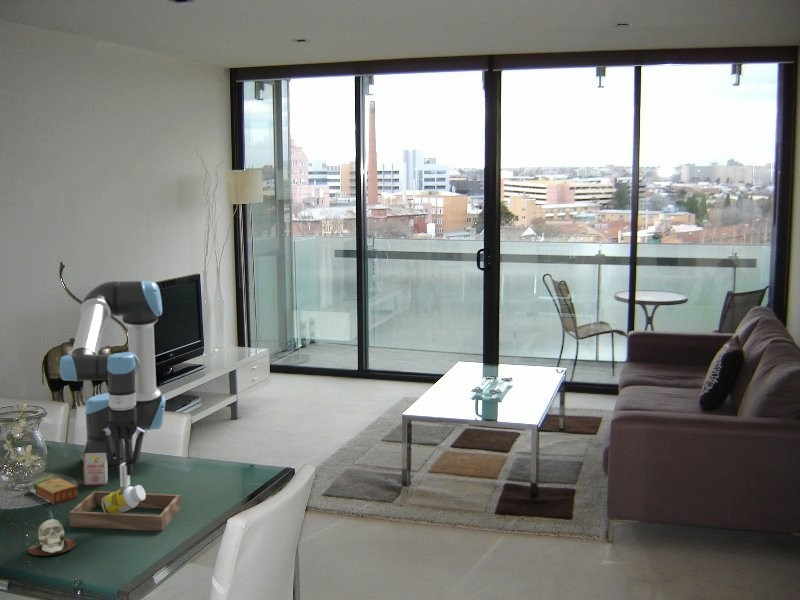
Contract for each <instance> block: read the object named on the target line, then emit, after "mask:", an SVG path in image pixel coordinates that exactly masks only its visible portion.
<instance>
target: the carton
mask: <svg viewBox="0 0 800 600" xmlns="http://www.w3.org/2000/svg"><path fill="white" fill-rule="evenodd" d="M38 478H39V480H38V481H37V482H36V483H34V489H35V490H36V494H37V495H39V496H41V497H43V498H45V499H47V500H49V501H50V502H51V503H50V502H49V503H50V504H51V505H57V504H60V503H63V502H62V501H64V502H66V501H70V499H71V500H74V499H77V498H78V496H79V493H78V491H79V490H78V485H77V484H75V483H72V482H70V481H68V480H66V479H64V478H61V477H60V476H57V475H55V474H53V473H51V474H48V475H44V476H40V477H38ZM59 502H60V503H59ZM56 503H57V504H56Z"/></svg>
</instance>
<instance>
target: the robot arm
mask: <svg viewBox="0 0 800 600" xmlns="http://www.w3.org/2000/svg"><path fill="white" fill-rule="evenodd" d="M79 313H80V316H81V318H80V321H79V324H78V328H77V332H76V334H75V339H74V343H73V346H72V349H71V353H70V354H68V355H63V356H61V357H60V359H59V360H60V361H59V375H60V378H61V380H63V381H68V382H69V381H70V382H72V381H73V382H81V381H82V382H83V381H107V385H108V386H107V387H108V392H104V393H99V394H96V395H94V396H91V397H89V398H88V399H87V400H86V403H85V413H84V414H85V419H86V420H85V422H86V424H85V425H86V442H85V444H84V449H83V452H82V455H81V459H82V463H83V464H84V453H106V458H107V467H111V466H115V465H116V474H117V476H119V483H120V485H119V487H120V488H125V487H128V486H131V476H132V475H133V472H134V468H133V465H134V464H136V463H137V462H138V461H139V460H140V455H141V451H142V446H143V441H144V436H145V435H146V433H147V431H151V430H160V429H161V428H162V427H163V424H164V423H163V422H164V417H165V416H164V415H165V410H166V409H165V407H166V399H167V398H166V396H164V395H162V392H161V390H160V389H159V388H158V387H157V376H156V375H157V373H156V372H157V371H156V369H157V368H156V353H155V352H156V350H155V349H156V348H155V326H154V325H155V324H156V323H157V322H158V321H159V317H160V316H162V314H163V301H162V295H161V291H160V286H159V285H158V284H157V282H154V281H147V280H146V281H145V280H134V281H133V280H130V281H129V280H128V281H127V280H126V281H120V280H119V281H115V280H114V281H113V280H112V281H111V280H110V281H107V282H106V281H105V282H103V283H100V284H99V285H97V286H95V287H94V288H93V289H91V290H90V291H89V292H88V293H87V294H86V295H85V296H84V298H83V300H82V301H81V304H80V307H79ZM110 317H122V323H124V324H125V326H126V327H127V340H128V341H127V342H128V343H127V344H128V351H124V352H116V353H113V354H99V352H100V347H101V343H102V339H103V336H104V335H103V334H104V329H105V326H106V321H108V320H109V318H110ZM135 433H136V439H135V443H134V449H133V436H134V435H135Z"/></svg>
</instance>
